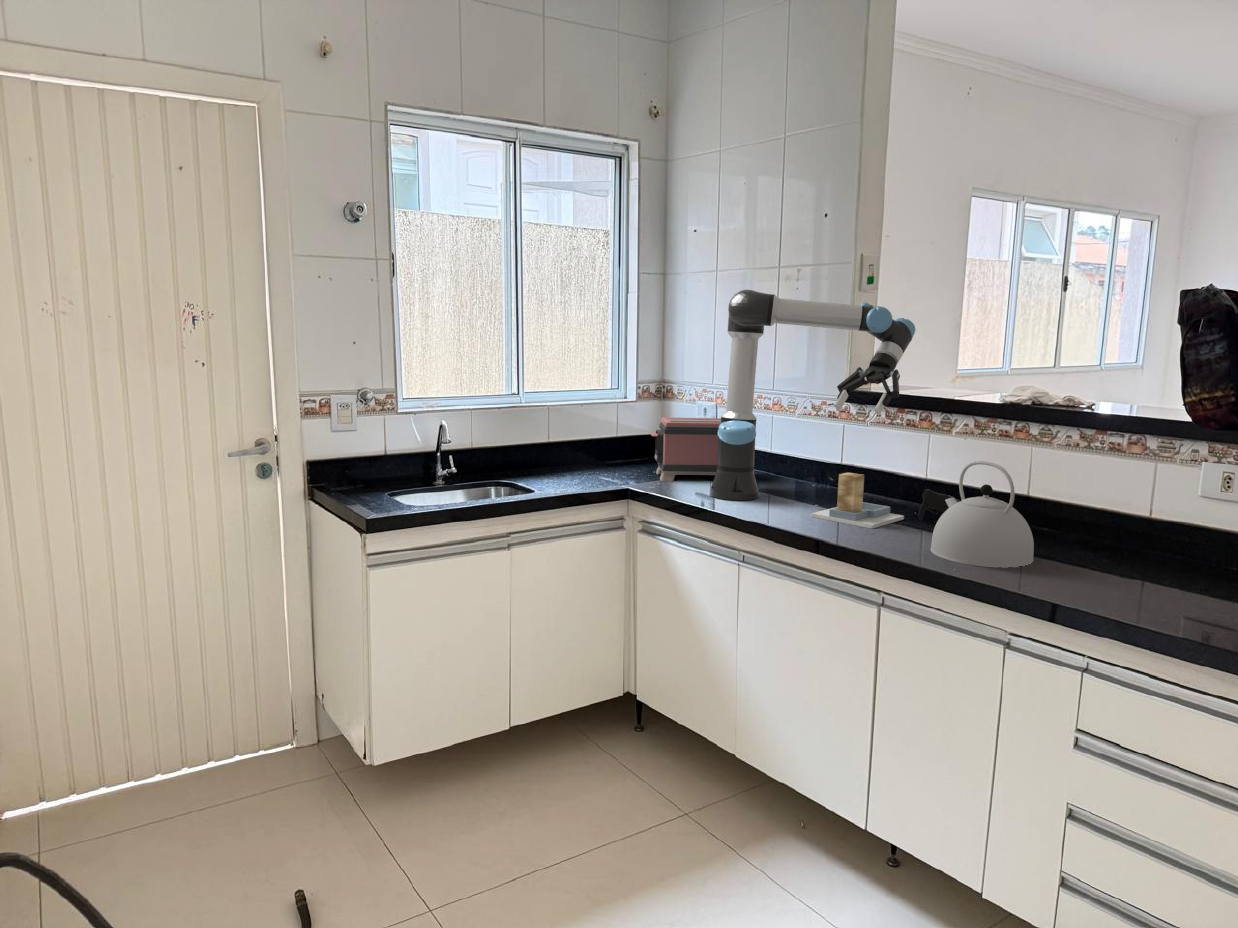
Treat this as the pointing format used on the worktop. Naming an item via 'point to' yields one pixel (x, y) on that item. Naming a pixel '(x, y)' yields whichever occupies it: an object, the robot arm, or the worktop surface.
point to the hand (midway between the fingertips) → (856, 410)
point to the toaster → (686, 447)
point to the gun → (933, 502)
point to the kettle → (983, 530)
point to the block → (850, 492)
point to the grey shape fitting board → (861, 516)
